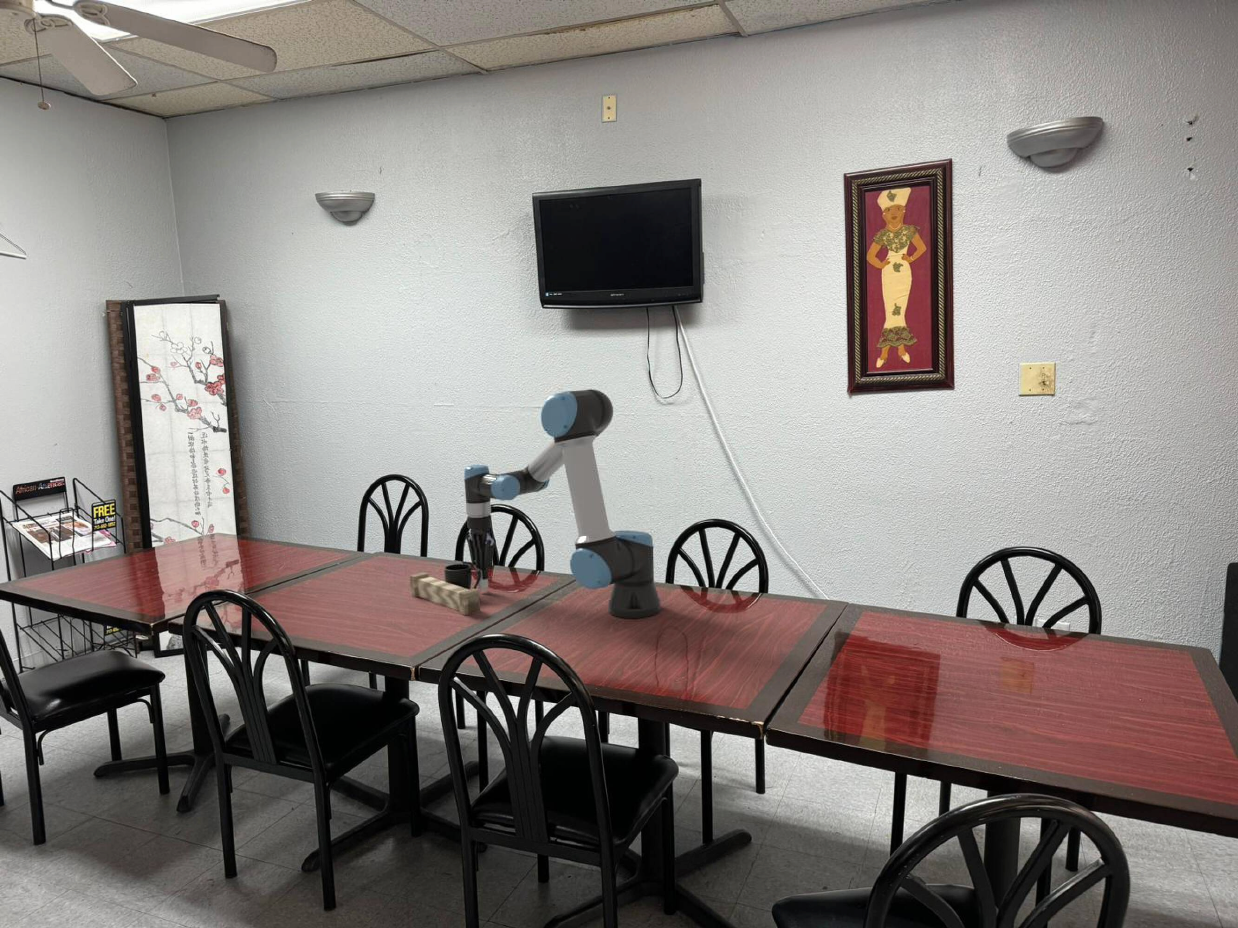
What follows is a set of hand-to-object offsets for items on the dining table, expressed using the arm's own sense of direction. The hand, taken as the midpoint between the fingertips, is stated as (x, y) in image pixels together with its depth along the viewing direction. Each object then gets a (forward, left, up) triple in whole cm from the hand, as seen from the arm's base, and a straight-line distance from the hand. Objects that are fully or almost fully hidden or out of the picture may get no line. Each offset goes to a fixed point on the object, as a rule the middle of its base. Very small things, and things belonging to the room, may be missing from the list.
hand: (483, 588), depth 277 cm
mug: (0, +7, -2) cm, 7 cm away
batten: (0, +14, -1) cm, 14 cm away
